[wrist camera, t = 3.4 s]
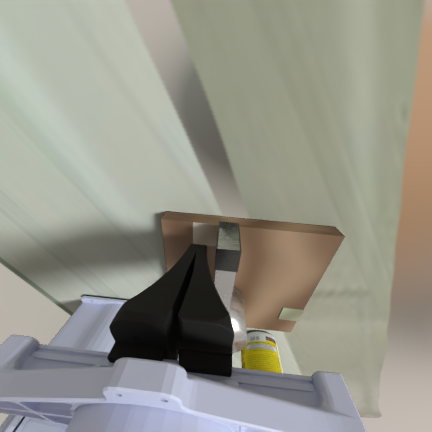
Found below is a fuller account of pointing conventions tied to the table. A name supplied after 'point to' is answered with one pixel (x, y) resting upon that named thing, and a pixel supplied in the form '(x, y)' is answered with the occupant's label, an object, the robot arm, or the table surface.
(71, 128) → the table surface
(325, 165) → the table surface
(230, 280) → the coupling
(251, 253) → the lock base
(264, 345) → the supplement bottle
